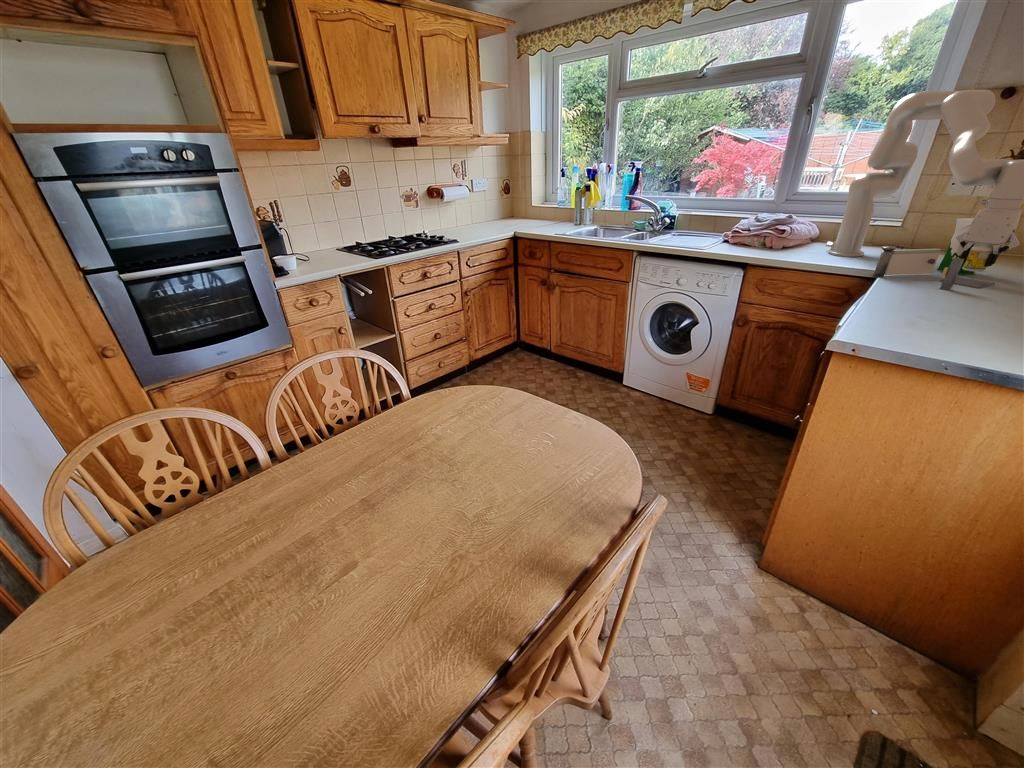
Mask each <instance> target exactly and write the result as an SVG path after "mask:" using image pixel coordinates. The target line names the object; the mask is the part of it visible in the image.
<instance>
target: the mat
mask: <svg viewBox="0 0 1024 768" xmlns="http://www.w3.org/2000/svg"><path fill="white" fill-rule="evenodd" d="M943 280H944V279H941V280H940V282H943ZM957 284H958V285H957ZM995 284H996V282H991V281H986V280H981V279H974V278H970V277H969V278H968V277H963V276H958V275H957V277H956V279H955V281H954V283H953V285H957V286H964V287H968V288H973V289H974V288H975V289H980V288H984V287H989V286H992V285H995Z"/></svg>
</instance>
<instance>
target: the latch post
mask: <svg viewBox="0 0 1024 768" xmlns="http://www.w3.org/2000/svg"><path fill="white" fill-rule="evenodd" d="M963 261H964V259H960V258H954V259H953V260H952V262H951V264H950V267H949V268H948V267H946V268H944V271H943V272H942V273H941V276H944V279H942V280H943V282H942V283H941V285H940V288H939V289H940V290H945V291H950V290H952V287H953V285H954V284H953V283H954V281H955V279H956V277H957V276H958V275H959V274H958V272H959V270H960V268H961V266H962V264H963Z"/></svg>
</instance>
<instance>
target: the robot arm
mask: <svg viewBox="0 0 1024 768" xmlns="http://www.w3.org/2000/svg"><path fill="white" fill-rule="evenodd" d="M995 104H996V95H995V94H994V93H993V91H991V90H989V89H963V90H925V91H924V90H923V91H916V92H912V93H910V94H907V95H905V96H903V97H902V98H901V99H900V100H898V101H897V102H896V103H895V105H894V106H893V108H892V109H891V111H890V113H889V116H888V118H887V121H886V124H885V127H884V128H883V131H882V133H881V134H880V136H879V138H878V140H877V142H876V144H875V145H874V147H873V149H872V151H871V153H870V155H869V157H868V159H867V167H868V168H869V169H871V170H876V171H883V172H867V173H866V172H865V173H862V174H860V175H858V176H856V177H855V178H854V179H853V180H852V181H851V183H850V185H849V188H848V197H847V204H846V207H845V211H844V213H843V218H842V220H841V224H840V226H839V227H840V228H839V230H838V233H837V237H836V239H835V241H827V242H826V244H825V247H830V249H829V250H828V254H830V255H833V256H839V257H849V258H850V257H852V258H855V257H863V256H864V255H865V252H864V251H863V250H862V248H863V244H864V242H865V238H866V236H867V232H868V229H869V227H870V223H871V222H872V217H873V215H874V211H875V203H874V202H875V201H874V199H882V198H888V197H891V196H892V195H894V194H895V193H896V192H897V191H898V190H899V189H900V187H901V185H902V184H903V182H904V181H905V179H906V177H907V176H908V174H909V173H910V171H911V169H912V168H913V166H914V164H915V162H916V160H917V157H918V152H919V150H918V146H917V145H916V144H915V143H914V142H911V141H908V139H909V138H910V136H911V133H912V131H913V121H917V120H918V121H920V120H921V121H924V120H925V121H927V120H930V121H931V120H942V121H943V124H944V125H945V127H946V129H947V131H948V134H949V136H950V139H951V141H952V144H953V145H952V147H951V148H950V150H949V155H948V165H949V169H950V171H951V173H952V176H953V177H954V179H955V181H956V182H957V183H958V184H959V185H961V186H964V187H977V186H982V187H983V186H985V187H986V186H993V188H992V190H991V192H990V195H989V197H987V199H982V200H981V202H980V205H983V208H980V209H979V210H978V212H977V213H976V214H975V216H974V217H973V218H974V219H973V221H972V222H971V224H970V226H969V228H968V230H967V231H966V232H964V233H963V234H961V235H959V236H958V237H956V239H957V240H958V242H959V243H960V245H961V246H962V248H963V250H964V252H963V254H962V256H961V259H964V261H963V263H965V261H966V259H967V257H968V254H969V252H970V250H971V248H972V247H973V246H975V244H976V243H983V244H992V247H993V252H992V254H990V255H989V257H988V259H987V261H986V263H985V265H984V266H985V267H986V268H989V267H992V266H993V265H995V264H996V262H997V259H998V257H999V256H1000V254H1002V253H1004V252H1006V251H1008V250H1010V249H1012V248H1015V247H1017V246H1019V245H1020V244H1021V243H1020V240H1019V239H1018V237H1017V236H1016V234H1015V233H1016V230H1017V228H1018V226H1019V222H1020V219H1021V215H1022V209H1020V208H1021V206H1022V204H1023V202H1024V159H1009V158H987V159H986V158H983V159H982V158H981V156H980V154H979V153H978V150H977V147H976V141H978V140H980V139H981V138H983V137H984V136H985V135H986V134H987V133H988V132H989V131H990V129H991V123H990V121H989V118H988V116H987V115H989V113H990V112H991V111H992V110H993V108H994V106H995ZM1008 243H1009V244H1008ZM1004 244H1007V245H1004Z"/></svg>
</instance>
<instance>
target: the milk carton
mask: <svg viewBox="0 0 1024 768" xmlns="http://www.w3.org/2000/svg"><path fill="white" fill-rule="evenodd" d="M973 219H974V217H971V218H970V217H969V218H968V217H967V218H956V224H955V229H954V233H953V236H952V238H951V240H950V243H949V245H948V247H947V250H946V252H945V254H944V256H943V258H942V260H941V262H939V263H940V264H939V265H938V267H937V269H936V270H937V271H940V272H942V273H943V271H944V268H946V267H948V268H949V267H950V264H951V262H952V260H953V259H954V258H960V259H961V256H962V254H963V252H964V250H963V248H962V246H961V245H960V243H959V242H958V240H957V239H956V237H958V236H959V235H961V234H963V233H964V232H966V231H967V230H968V228H969V226H970V224H971V222H972V221H973ZM976 245H977V244H975V246H976ZM963 265H964V263H963V264H962V266H961V268H960V270H959V272H958V275H974V274H975V272H973V271H967V270H963Z"/></svg>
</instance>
